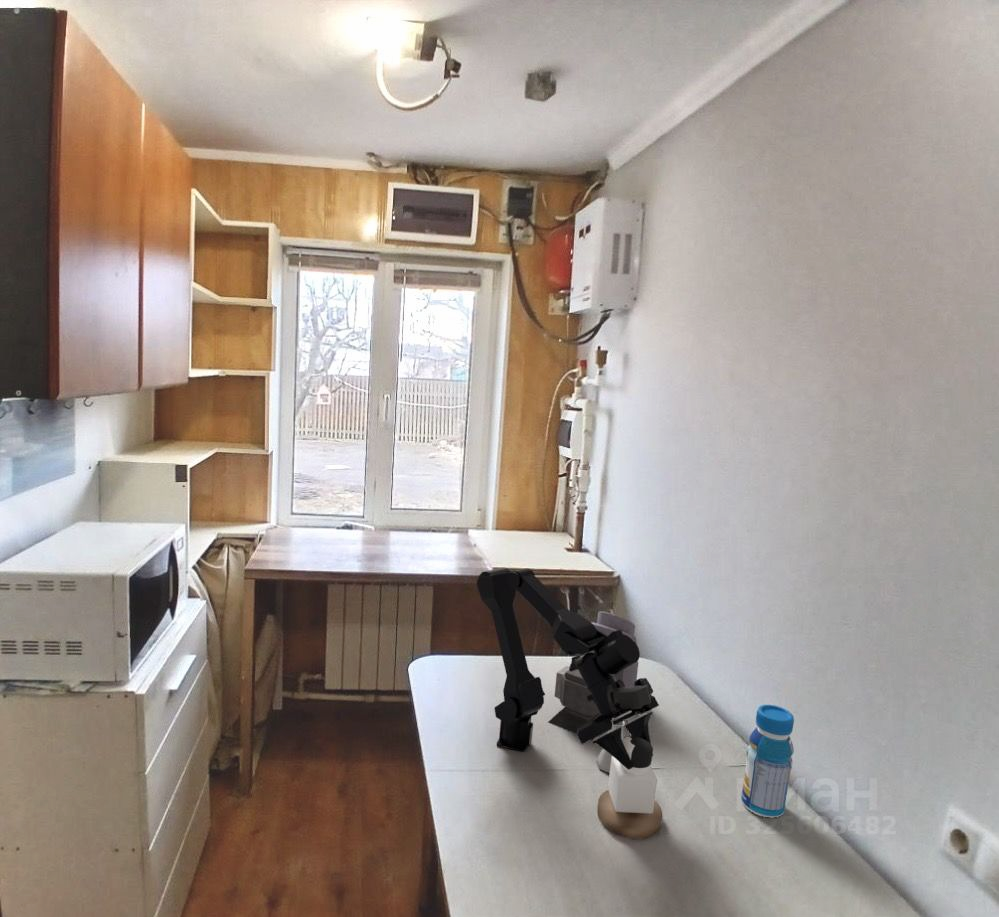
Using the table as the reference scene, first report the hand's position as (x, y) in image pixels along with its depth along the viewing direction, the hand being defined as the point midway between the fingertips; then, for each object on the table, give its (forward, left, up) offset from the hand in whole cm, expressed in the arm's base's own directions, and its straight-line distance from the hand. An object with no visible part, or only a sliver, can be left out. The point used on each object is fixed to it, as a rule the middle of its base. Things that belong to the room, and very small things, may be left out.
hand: (640, 762), depth 126 cm
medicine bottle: (-1, +1, -9) cm, 9 cm away
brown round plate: (-1, +1, -12) cm, 12 cm away
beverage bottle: (+24, +15, -12) cm, 31 cm away
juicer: (-13, +41, -12) cm, 44 cm away
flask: (-6, +17, -12) cm, 21 cm away
